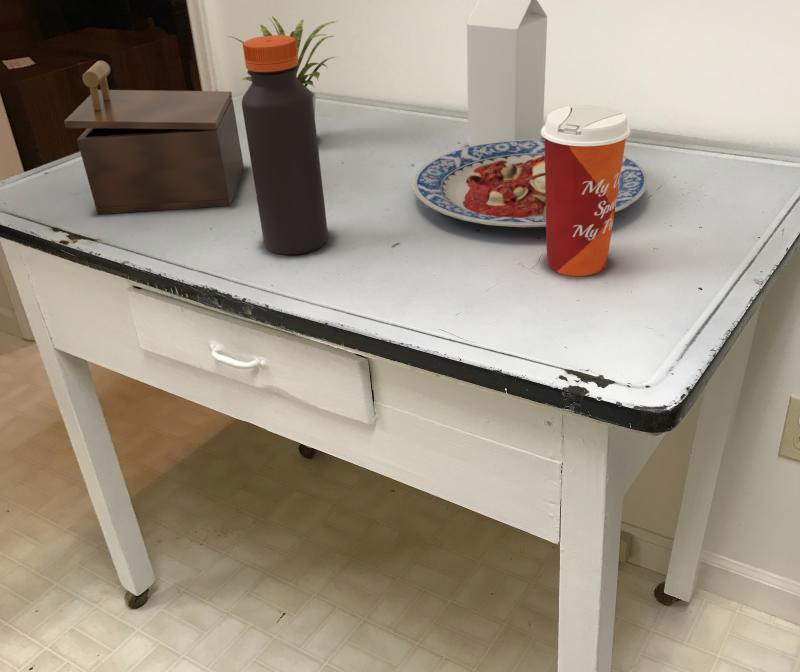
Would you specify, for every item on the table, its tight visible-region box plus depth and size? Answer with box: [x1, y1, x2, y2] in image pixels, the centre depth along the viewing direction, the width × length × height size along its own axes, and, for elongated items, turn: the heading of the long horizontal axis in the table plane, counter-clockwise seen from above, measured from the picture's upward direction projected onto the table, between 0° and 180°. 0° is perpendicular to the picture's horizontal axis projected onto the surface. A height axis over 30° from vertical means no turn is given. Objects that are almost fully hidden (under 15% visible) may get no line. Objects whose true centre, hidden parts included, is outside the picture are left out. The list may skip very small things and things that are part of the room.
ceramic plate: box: [412, 139, 648, 228], centre depth 96 cm, size 26×26×3 cm
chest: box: [76, 98, 245, 215], centre depth 102 cm, size 16×13×9 cm
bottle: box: [241, 34, 329, 256], centre depth 84 cm, size 7×7×20 cm
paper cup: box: [541, 104, 631, 277], centre depth 78 cm, size 8×8×14 cm
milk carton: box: [466, 0, 548, 147], centre depth 106 cm, size 7×7×19 cm
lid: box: [63, 60, 233, 130], centre depth 98 cm, size 16×13×5 cm
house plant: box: [227, 15, 338, 117], centre depth 112 cm, size 14×14×16 cm
